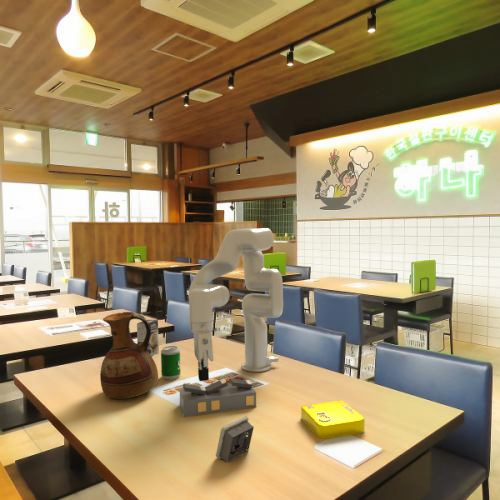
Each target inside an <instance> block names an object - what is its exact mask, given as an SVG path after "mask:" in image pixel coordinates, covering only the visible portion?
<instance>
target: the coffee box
mask: <svg viewBox="0 0 500 500" xmlns="http://www.w3.org/2000/svg"><path fill="white" fill-rule="evenodd" d="M146 320H147V322H148V324H149V326H150V339H149V344H148V352H149V354H150V355H151V356H152V357H153V356H155V355H157V354H159V353H160V351H159V320H158V319H146ZM136 334H137V335H136V338H137V339H136V340H137V341H136V342H137V344H142V343H143V342H144V339H145V336H146V327H145V324H144V323H143V322H142V321H139V322H136Z"/></svg>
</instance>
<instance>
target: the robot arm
mask: <svg viewBox="0 0 500 500" xmlns="http://www.w3.org/2000/svg"><path fill="white" fill-rule="evenodd" d="M274 239H275V238H274V234H273V231H272V230H271V229H270V228H268V227H267V228H265V227H263V228H261V227H258V228H255V227H254V228H253V227H248V228H247V227H246V228H245V227H244V228H238V229H237V228H236V229H231V230H229V231H227V232H226V233H225V236H224V237H223V240H222V242H221V244H220V246H219V249H218V251H217V254H216V256H215V257H214V258H213V259H212V260H210V261H209V262H208V263H206V264H205V265H204V266H202V267H201V269H199V270H198V271H197V272H196V274H195V275H194V277H193V279H192V282H191V284H190V286H189V289H188V305H189V307H188V308H189V330H190V332H191V333H192V334H193V350H194V356H195V358H196V360H197V367H198V368H197V371H198V372H197V373H198V374H197V376H198V381H199V382H203V381H204V382H206V381H209V380H210V376H209V374H210V373H209V372H210V371H209V370H210V369H209V361H210V362H213V361H214V348H213V339H212V331H213V330H214V317H213V315H214V314H213V309H215V308H221V307H224V306H225V305H226V304H227V303H228V302H229V300H230V298H231V297H230V290H229V288H228V287H227V286H225V285H223V284H213V283H212V284H211V283H210V282H211V281H213V280H215V279H217V278H219V277H222V276H224V275H228V274H230V273H232V272H234V271H235V270H236V269H237V267H238V265H239V262H240V259H241V257H242V259H243V269H244V270H243V271H244V272H243V274H244V285H245V288H246V289H247V290H248V291H254V292H267V293H264V294H263V293H247V294H246V295H245V296H244V297H242V301H241V309H242V314H243V319H244V322H243V323H244V360H245V361H244V362H243V363H242V364H241V369H242V370H244V371H246V372H250V373H261V372H266V371H269V370H270V369H272V363H278V362H279V357H278V356H276V357H274V356H269V355H268V326H267V323H266V321H265V318H269V319H271V318H273V319H277V318H280V317H281V316H282V314H283V310H284V289H283V288H284V284H283V276H282V273H281V272H280V270H279V269H275V268H265V257H264V254H263V251H267V250H270V249H271V247H273V245H274V241H275V240H274ZM268 293H269V294H268Z"/></svg>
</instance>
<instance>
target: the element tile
mask: <svg viewBox="0 0 500 500" xmlns="http://www.w3.org/2000/svg"><path fill="white" fill-rule="evenodd" d="M300 413H301V414H300V417H301V418H300V419H301V421H302V422H303V424H304V425H305V426H306V427H307V428H308V429H309V431H311V432H312V433H313V435H314V436H315V437H317V438H318V439H320V440H329V439H334V438H341V437H347V436H353V435H358V434H363V433H364V432H365V417H364V416H363V415H362V414H361V413H359V412H358V411H357V410H356V409H355V408H353V407H351V406H350V405H349V404H348V403H347V402H345V401H344V400H332V401H325V402H317V403H310V404H309V403H308V404H303V405H302V406H301V407H300Z"/></svg>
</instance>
